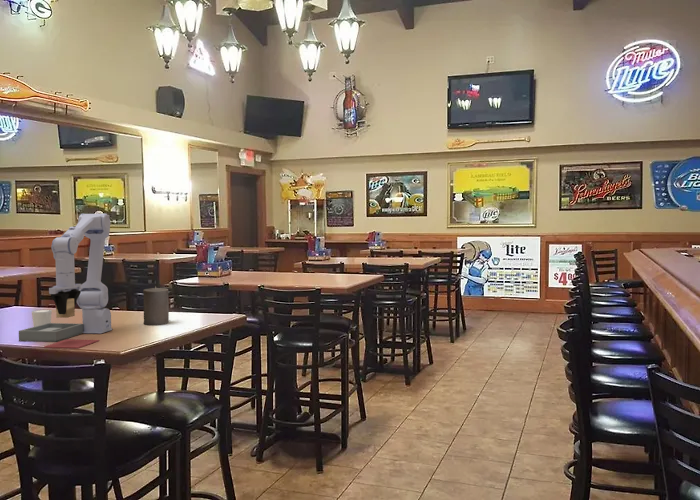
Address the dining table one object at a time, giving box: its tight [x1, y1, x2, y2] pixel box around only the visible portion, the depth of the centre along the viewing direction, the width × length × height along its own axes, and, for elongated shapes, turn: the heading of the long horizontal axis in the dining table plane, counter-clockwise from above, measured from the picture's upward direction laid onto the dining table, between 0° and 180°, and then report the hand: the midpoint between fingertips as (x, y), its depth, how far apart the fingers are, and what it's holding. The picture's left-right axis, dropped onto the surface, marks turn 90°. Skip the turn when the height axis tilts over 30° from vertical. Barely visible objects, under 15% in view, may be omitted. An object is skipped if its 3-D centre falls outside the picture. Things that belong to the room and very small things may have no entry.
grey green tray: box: [18, 322, 84, 343], centre depth 213 cm, size 14×16×4 cm
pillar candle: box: [142, 285, 170, 326], centre depth 240 cm, size 10×10×15 cm
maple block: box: [55, 298, 76, 319], centre depth 201 cm, size 4×4×6 cm
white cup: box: [31, 309, 53, 327], centre depth 229 cm, size 7×7×7 cm
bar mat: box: [43, 338, 100, 349], centre depth 200 cm, size 12×12×1 cm
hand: (66, 313), depth 201 cm, fingers closed on maple block, 4 cm apart
